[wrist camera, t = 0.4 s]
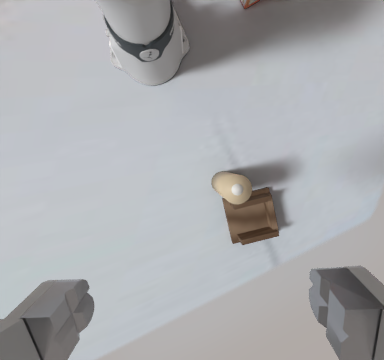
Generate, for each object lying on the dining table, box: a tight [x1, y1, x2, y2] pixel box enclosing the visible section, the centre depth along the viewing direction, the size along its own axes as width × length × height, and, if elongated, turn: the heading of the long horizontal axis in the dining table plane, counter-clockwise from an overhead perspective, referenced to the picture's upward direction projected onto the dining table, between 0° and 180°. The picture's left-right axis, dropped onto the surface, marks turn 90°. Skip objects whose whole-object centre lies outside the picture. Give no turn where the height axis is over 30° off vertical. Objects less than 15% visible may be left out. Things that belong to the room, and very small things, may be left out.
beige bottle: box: [212, 171, 252, 204], centre depth 44 cm, size 6×6×14 cm
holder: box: [222, 187, 279, 245], centre depth 50 cm, size 12×12×5 cm
